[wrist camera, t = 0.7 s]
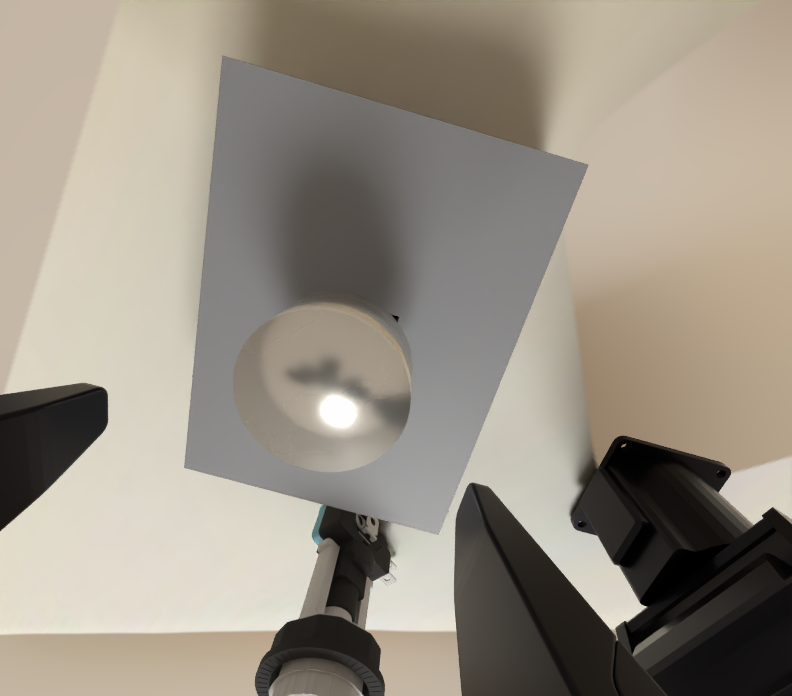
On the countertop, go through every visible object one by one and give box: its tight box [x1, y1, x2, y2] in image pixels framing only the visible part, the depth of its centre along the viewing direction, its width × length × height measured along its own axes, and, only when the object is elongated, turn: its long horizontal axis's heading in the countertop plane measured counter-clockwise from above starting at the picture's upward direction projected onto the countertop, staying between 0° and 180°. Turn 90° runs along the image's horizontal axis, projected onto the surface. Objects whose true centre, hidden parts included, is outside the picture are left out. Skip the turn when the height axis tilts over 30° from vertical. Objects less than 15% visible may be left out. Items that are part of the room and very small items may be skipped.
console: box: [184, 56, 588, 535], centre depth 17 cm, size 12×16×5 cm
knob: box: [233, 291, 413, 472], centre depth 13 cm, size 5×5×8 cm
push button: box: [255, 505, 397, 696], centre depth 19 cm, size 7×5×10 cm
